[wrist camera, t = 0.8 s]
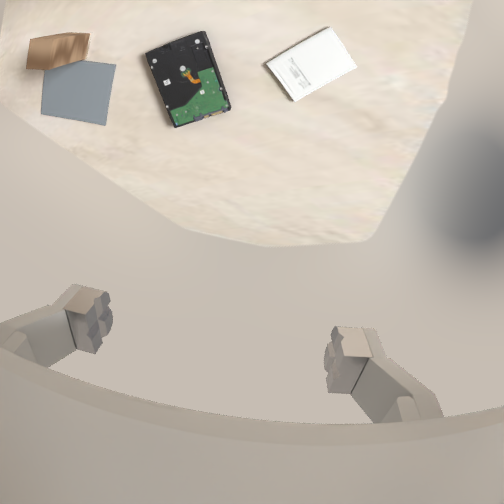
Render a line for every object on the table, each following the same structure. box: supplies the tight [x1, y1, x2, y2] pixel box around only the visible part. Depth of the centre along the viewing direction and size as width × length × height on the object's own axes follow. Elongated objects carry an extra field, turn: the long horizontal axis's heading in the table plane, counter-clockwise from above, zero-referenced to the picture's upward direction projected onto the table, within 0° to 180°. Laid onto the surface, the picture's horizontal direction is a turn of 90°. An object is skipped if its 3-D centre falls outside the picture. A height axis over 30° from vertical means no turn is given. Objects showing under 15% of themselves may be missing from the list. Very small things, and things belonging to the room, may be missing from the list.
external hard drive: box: [266, 27, 357, 102], centre depth 42 cm, size 2×8×12 cm
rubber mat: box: [41, 61, 116, 125], centre depth 44 cm, size 12×16×1 cm
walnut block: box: [26, 32, 92, 70], centre depth 34 cm, size 5×5×12 cm
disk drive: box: [146, 31, 231, 128], centre depth 44 cm, size 10×3×15 cm
